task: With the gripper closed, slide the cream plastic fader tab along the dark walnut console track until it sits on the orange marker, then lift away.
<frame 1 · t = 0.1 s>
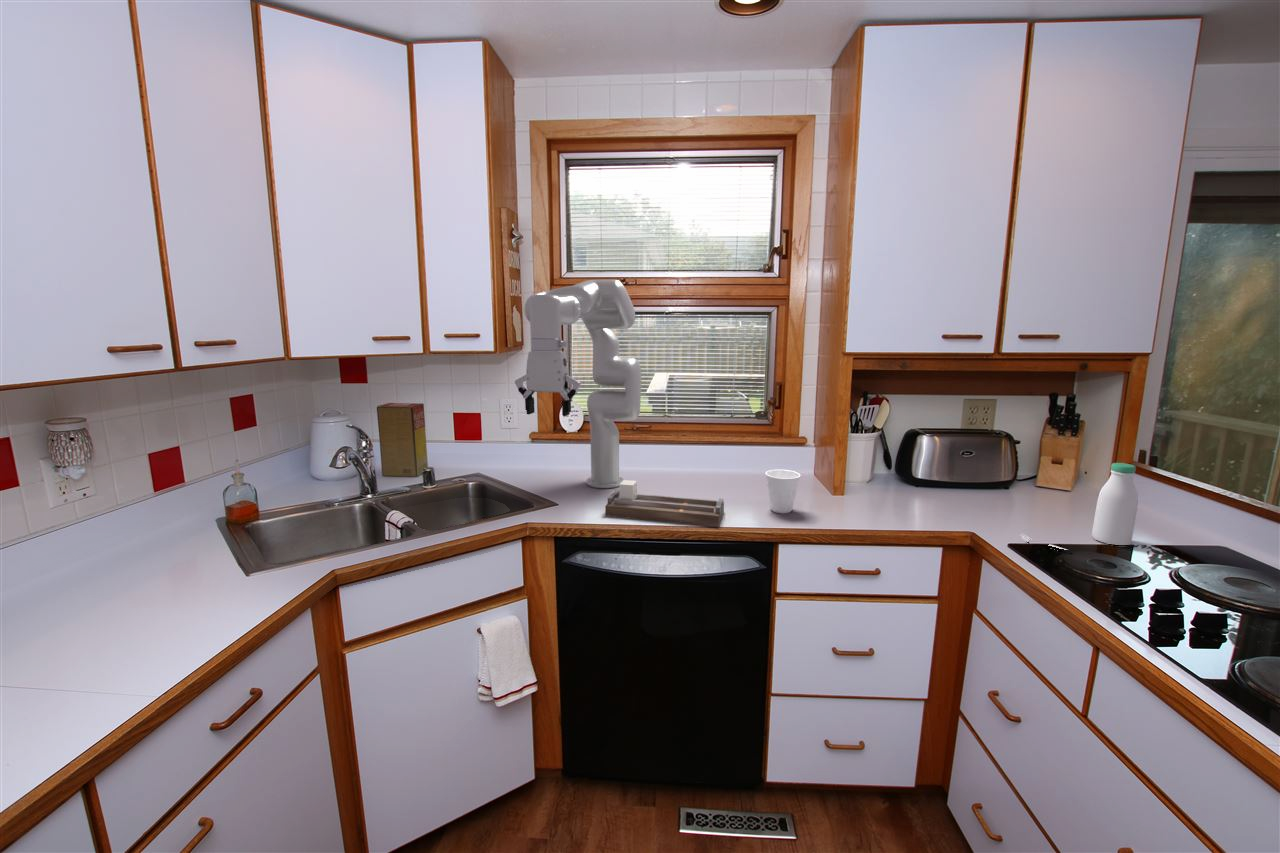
hand: (548, 414, 142), 31 cm above the worktop, tool pointing down, fingers open, 9 cm apart
milk bottle: (1110, 541, 143), on the worktop
food packaging: (405, 473, 203), on the worktop
cup: (781, 510, 165), on the worktop
fader console: (665, 513, 162), on the worktop
fader tab: (628, 490, 163), point 6 cm above the worktop, slide at 1.0 cm
fork: (1066, 554, 136), on the worktop
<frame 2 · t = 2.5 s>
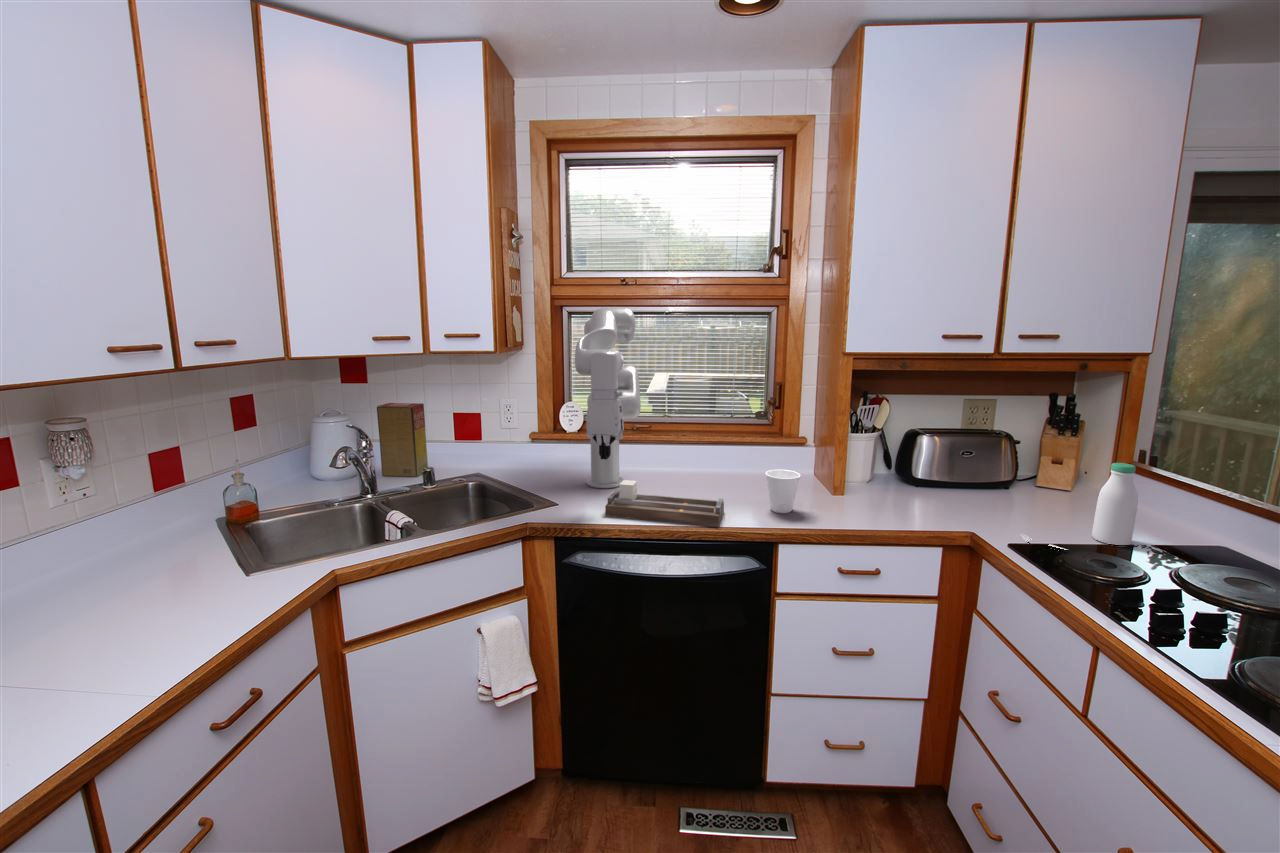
hand: (604, 458, 163), 15 cm above the worktop, tool pointing down, fingers closed
nothing on the worktop moved.
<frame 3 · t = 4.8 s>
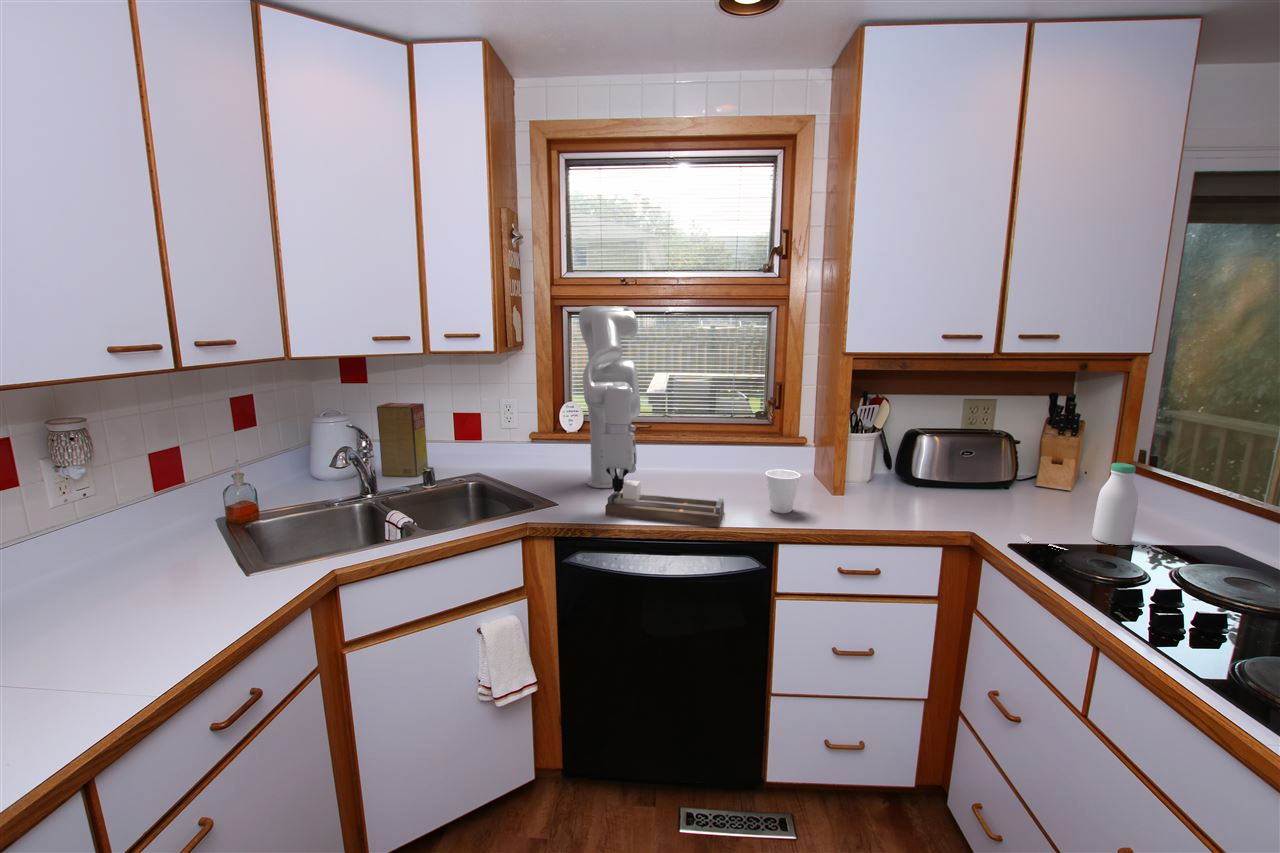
hand: (618, 490, 164), 6 cm above the worktop, tool pointing down, fingers closed
fader tab: (631, 491, 163), point 6 cm above the worktop, slide at 2.1 cm, touching gripper
everything else where it was.
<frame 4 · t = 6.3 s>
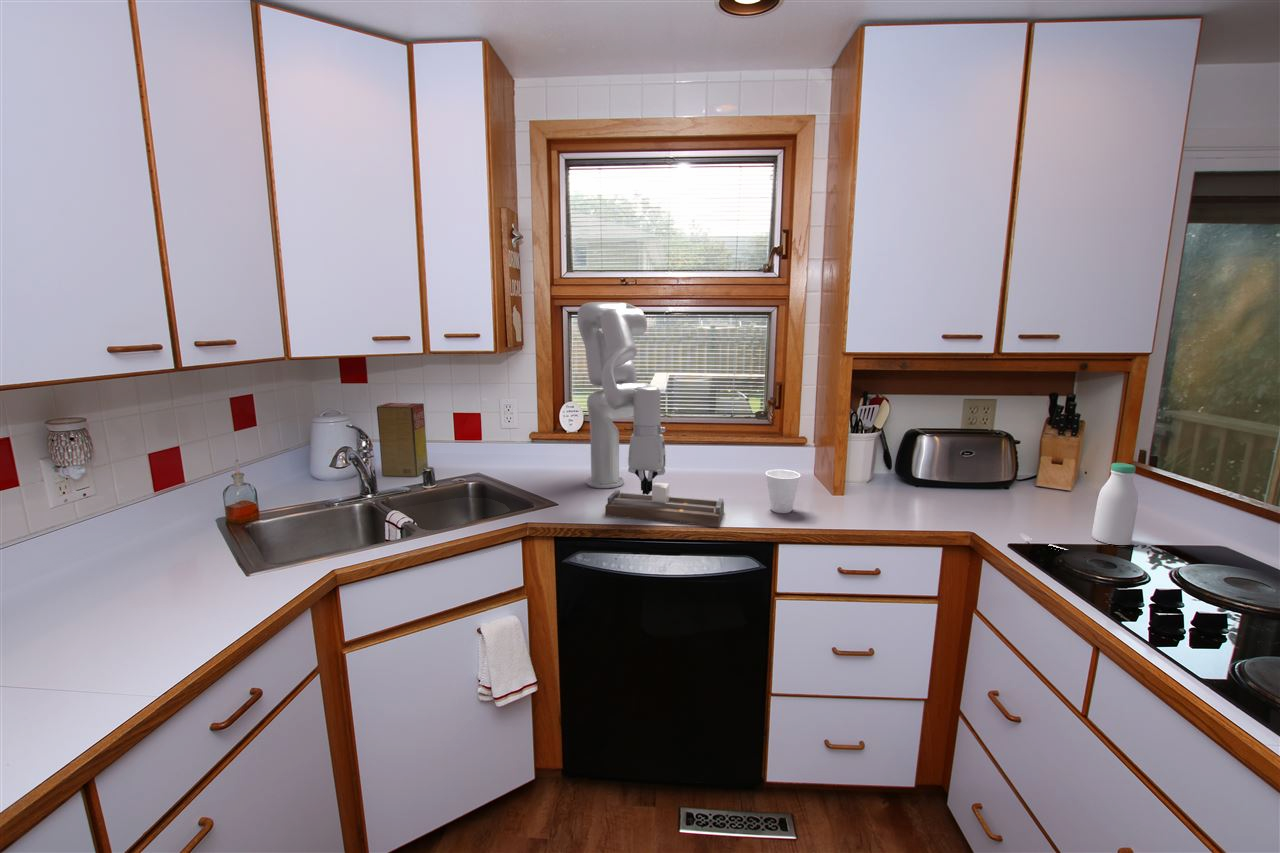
hand: (646, 493, 162), 6 cm above the worktop, tool pointing down, fingers closed
fader tab: (660, 493, 161), point 6 cm above the worktop, slide at 10.6 cm, touching gripper
everything else where it was.
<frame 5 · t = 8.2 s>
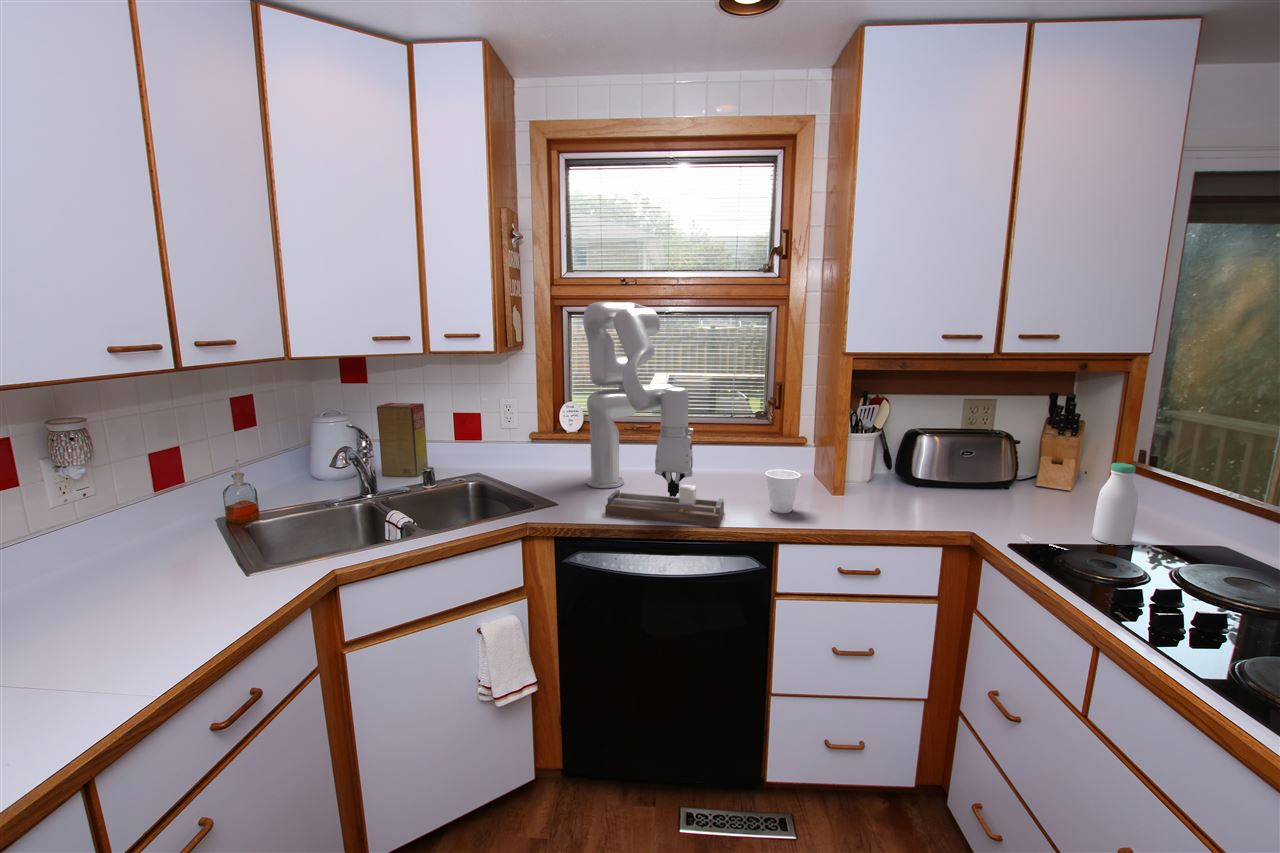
hand: (673, 495, 160), 6 cm above the worktop, tool pointing down, fingers closed
fader tab: (687, 495, 159), point 6 cm above the worktop, slide at 18.4 cm, touching gripper
everything else where it was.
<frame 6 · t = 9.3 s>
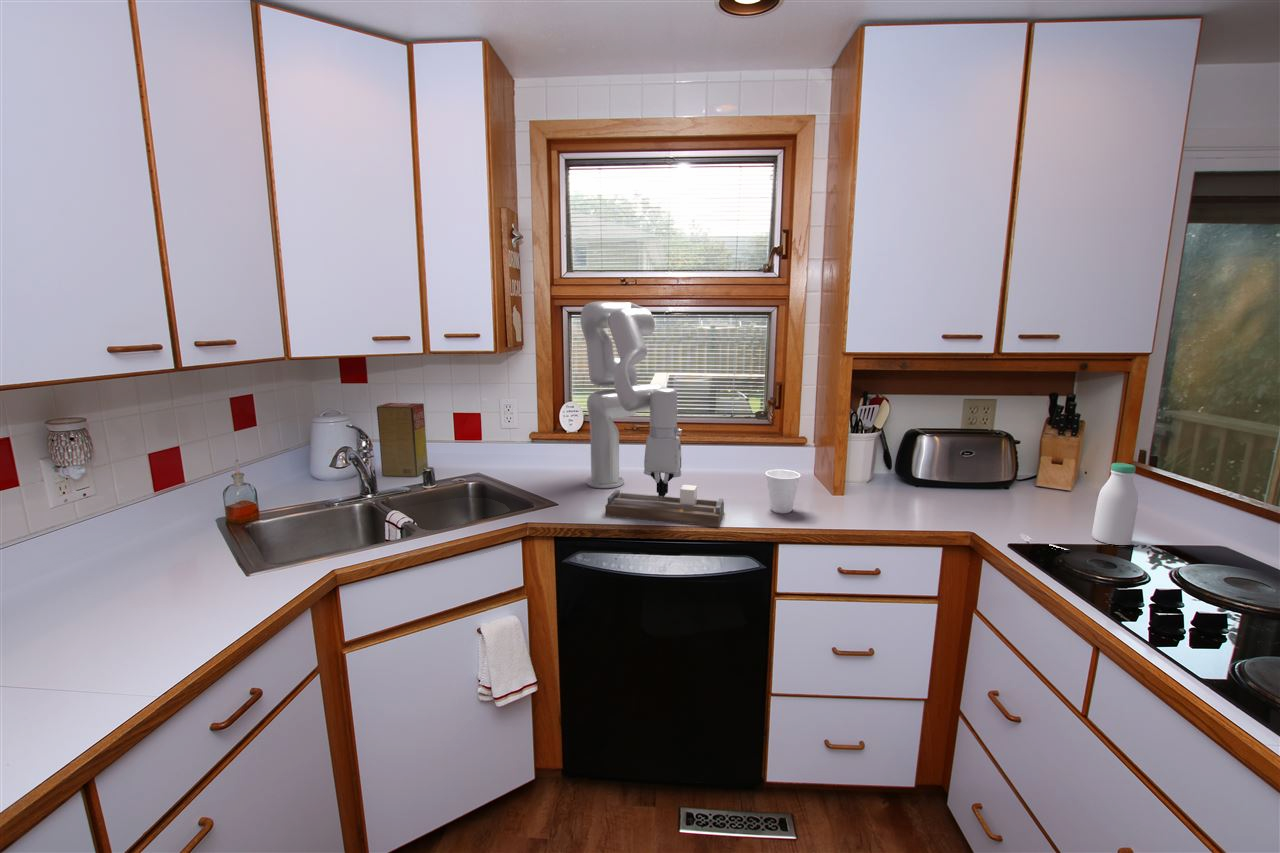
hand: (662, 495, 161), 5 cm above the worktop, tool pointing down, fingers closed
fader tab: (688, 496, 159), point 6 cm above the worktop, slide at 18.7 cm
everything else where it was.
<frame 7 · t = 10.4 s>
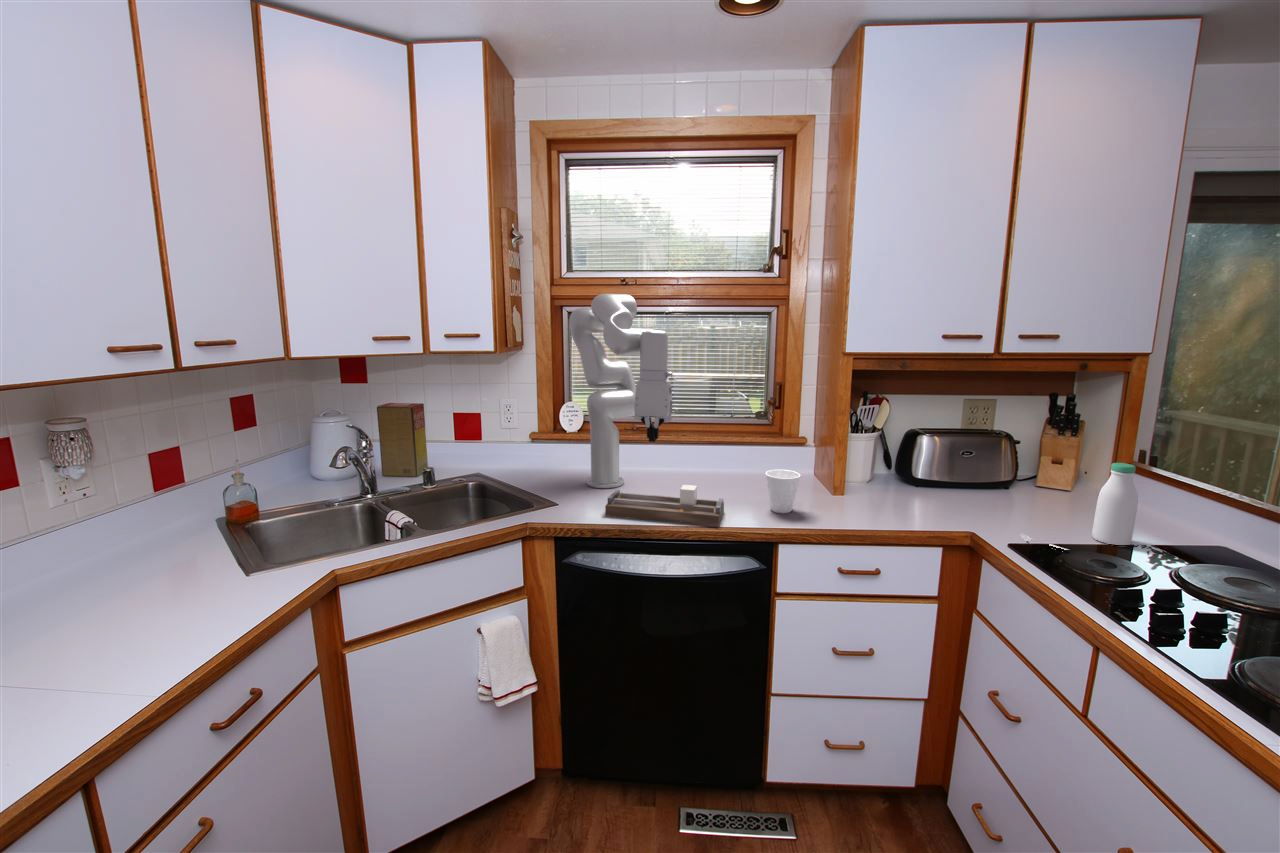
hand: (652, 440, 159), 21 cm above the worktop, tool pointing down, fingers closed
nothing on the worktop moved.
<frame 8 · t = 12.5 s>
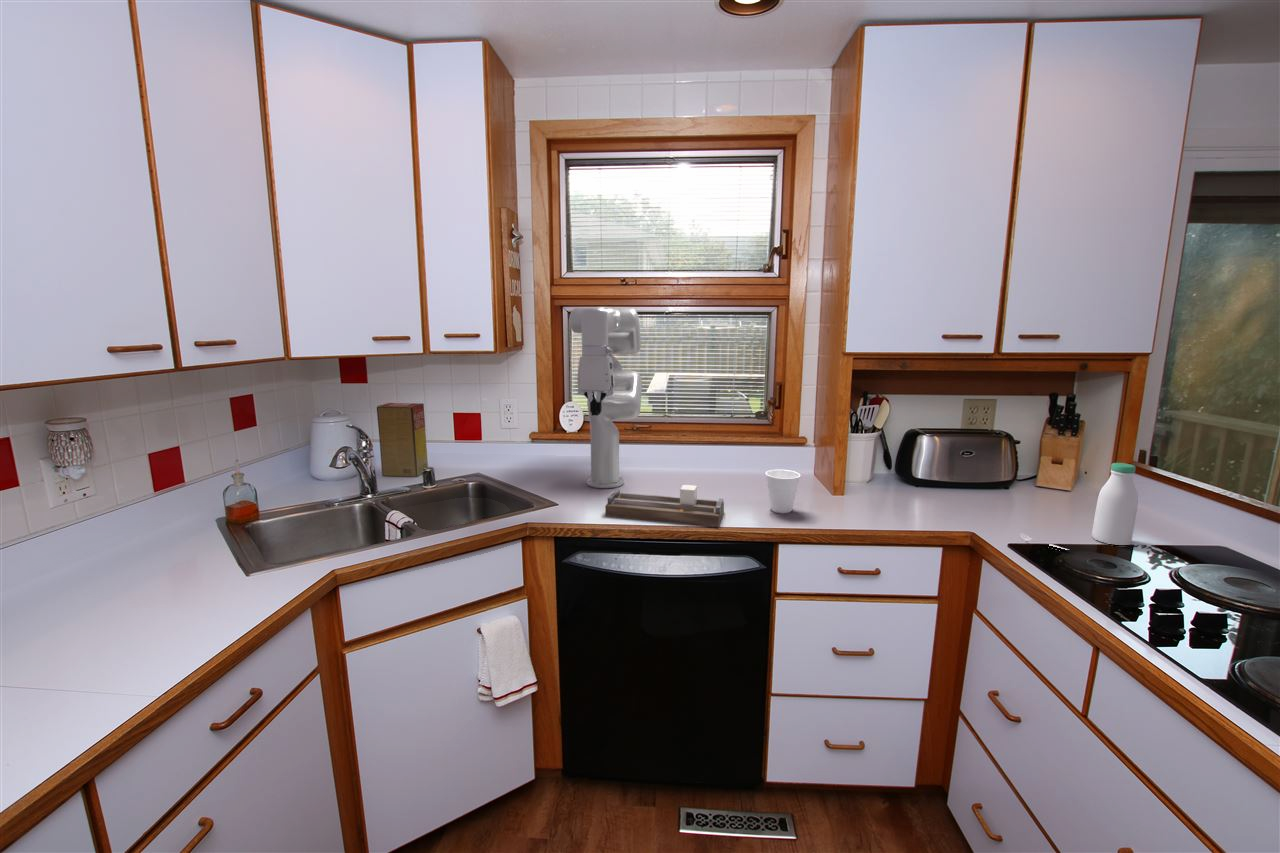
hand: (595, 414, 166), 27 cm above the worktop, tool pointing down, fingers closed
nothing on the worktop moved.
at the end: fader tab slide at 18.7 cm; the gripper is holding nothing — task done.
